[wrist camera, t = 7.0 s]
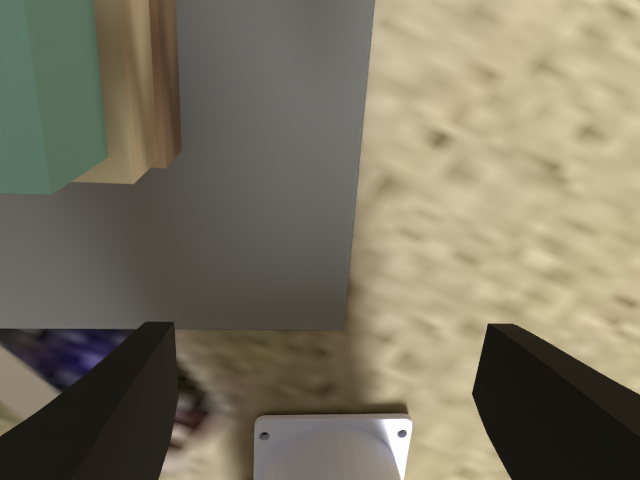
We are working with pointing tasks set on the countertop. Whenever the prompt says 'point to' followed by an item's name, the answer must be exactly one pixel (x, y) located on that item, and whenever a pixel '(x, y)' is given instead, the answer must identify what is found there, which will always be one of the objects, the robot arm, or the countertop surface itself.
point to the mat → (215, 188)
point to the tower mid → (125, 91)
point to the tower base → (165, 80)
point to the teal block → (48, 95)
